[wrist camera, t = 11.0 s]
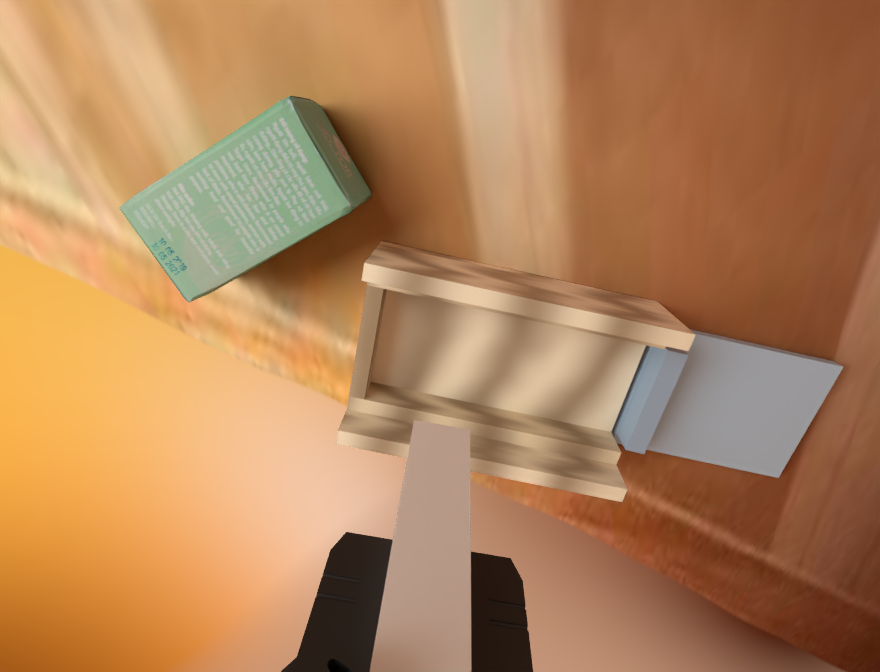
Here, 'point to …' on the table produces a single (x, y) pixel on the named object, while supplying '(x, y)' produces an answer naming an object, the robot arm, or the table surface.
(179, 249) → the box
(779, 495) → the table surface
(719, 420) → the cover plate
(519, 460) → the case
